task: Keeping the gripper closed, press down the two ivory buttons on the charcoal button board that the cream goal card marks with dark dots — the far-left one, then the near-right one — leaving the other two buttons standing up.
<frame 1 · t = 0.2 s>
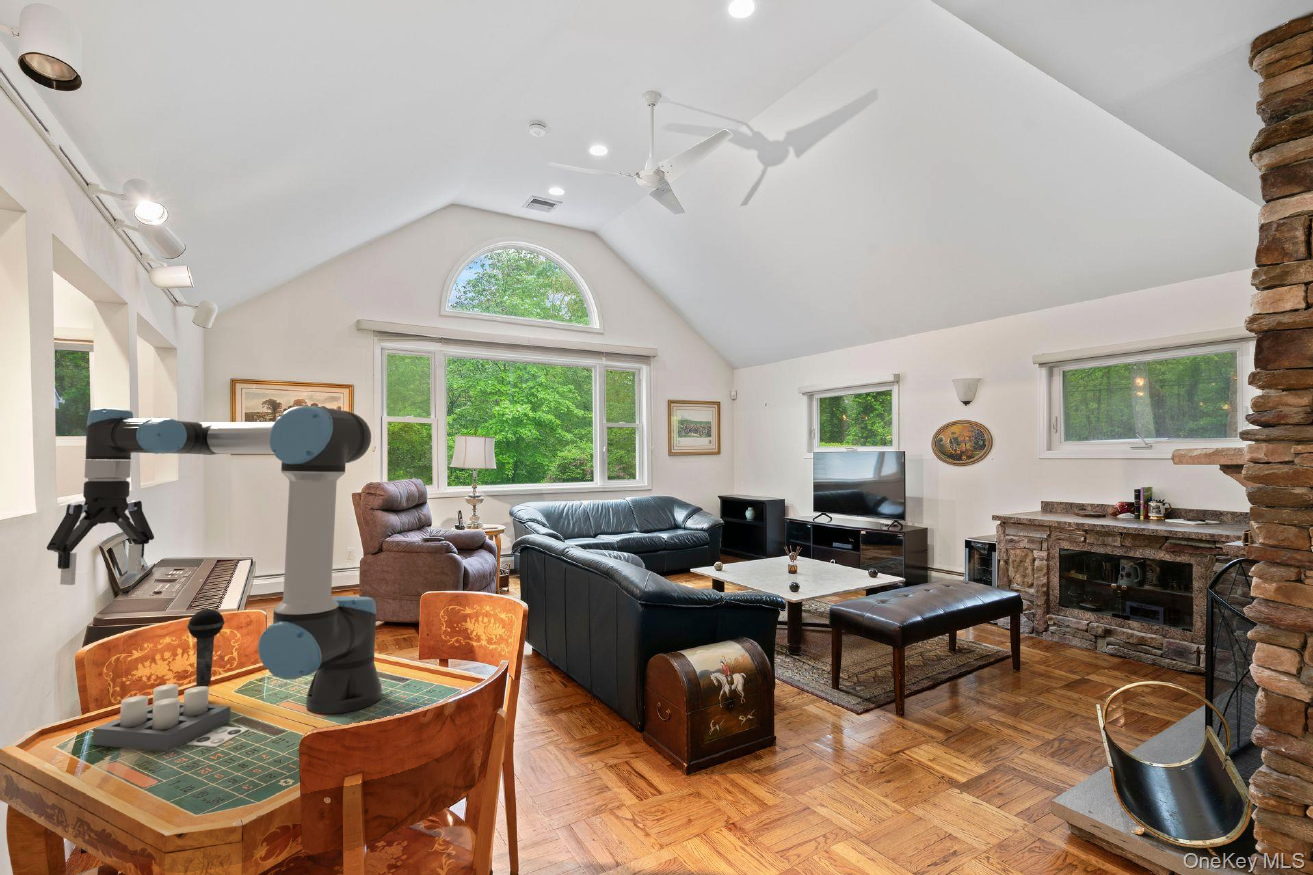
hand: (102, 578, 135), 28 cm above the table, fingers open, 13 cm apart
microphone: (202, 700, 140), on the table
button far left: (134, 711, 121), point 5 cm above the table, slide at 0.0 cm
button near right: (196, 701, 126), point 5 cm above the table, slide at 0.0 cm
button board: (164, 732, 123), on the table
button near left: (166, 713, 120), point 5 cm above the table, slide at 0.0 cm
button far right: (165, 698, 127), point 5 cm above the table, slide at 0.0 cm
goal card: (219, 736, 122), on the table
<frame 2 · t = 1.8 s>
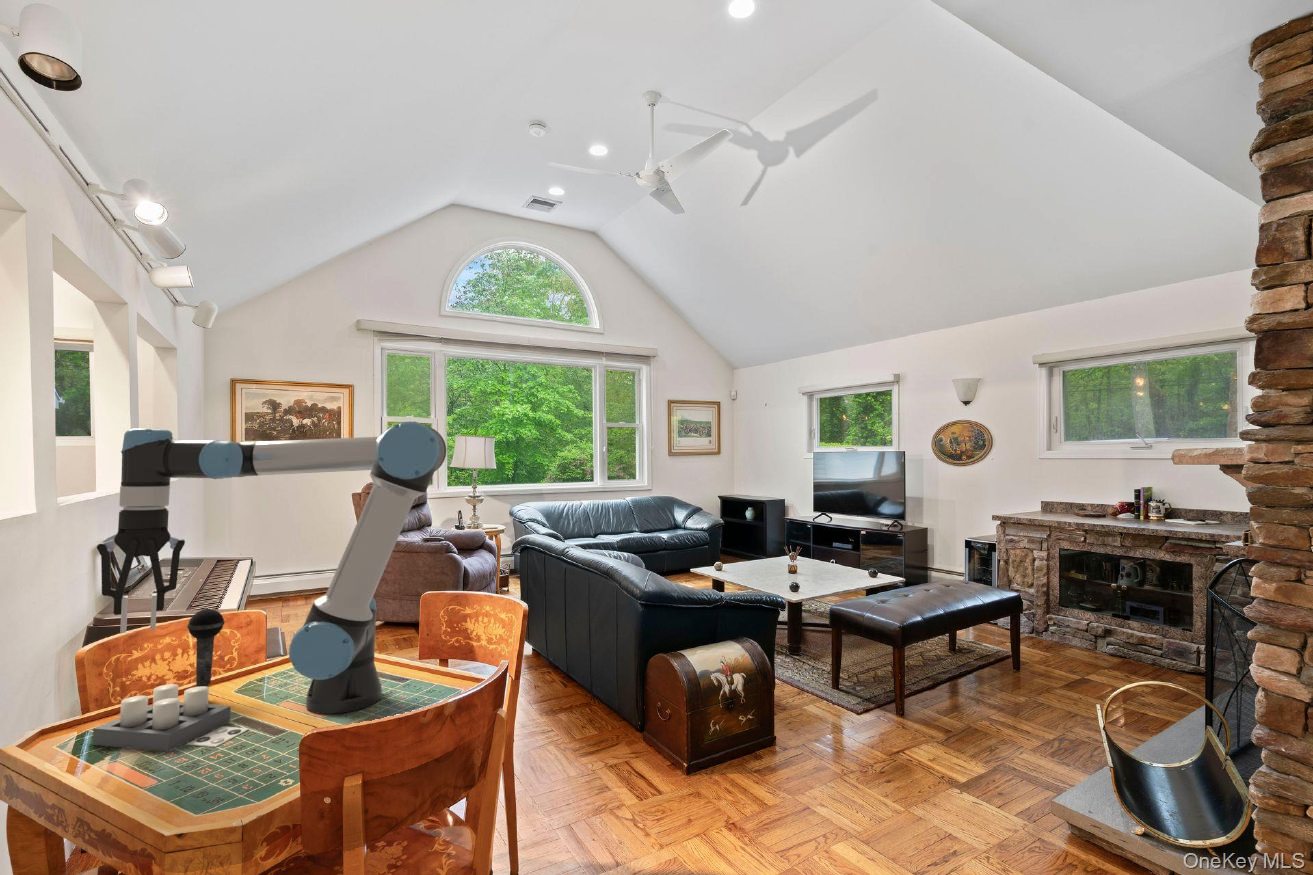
hand: (138, 629, 122), 21 cm above the table, fingers open, 4 cm apart
nothing on the table moved.
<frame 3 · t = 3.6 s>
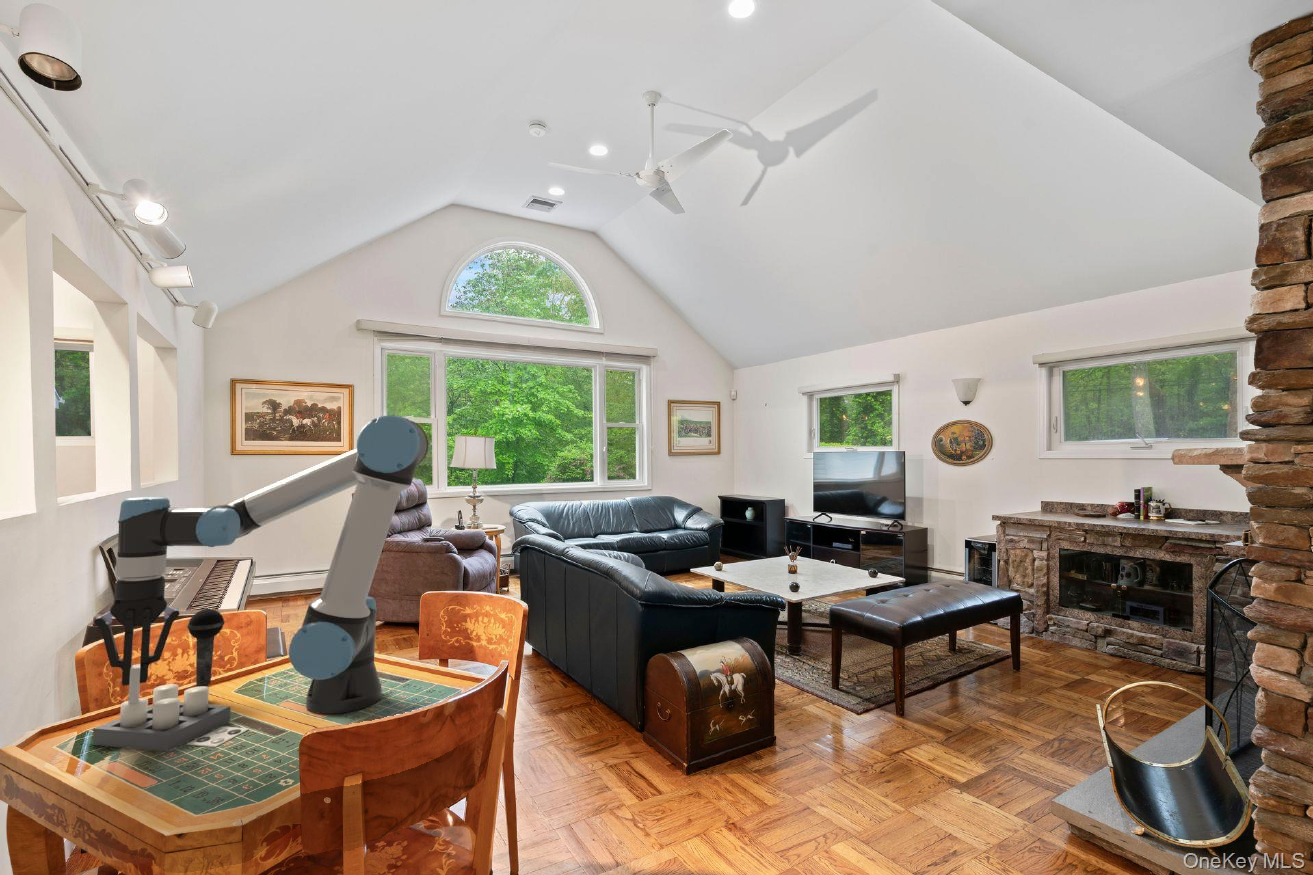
hand: (133, 700, 121), 7 cm above the table, fingers closed
button far left: (134, 713, 121), point 5 cm above the table, slide at 0.5 cm, touching gripper
everything else where it was.
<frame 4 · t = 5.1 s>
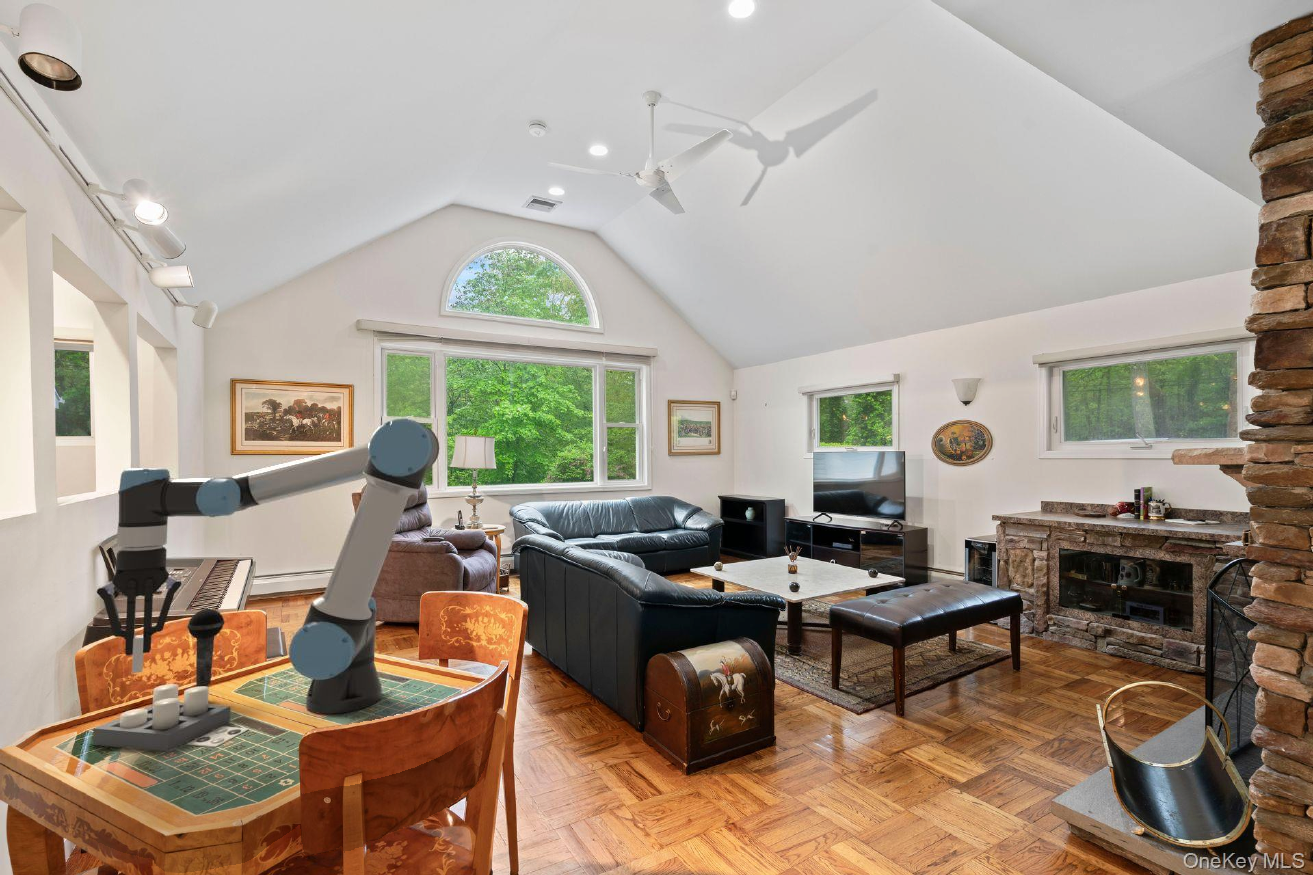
hand: (137, 670, 121), 13 cm above the table, fingers closed
button far left: (133, 724, 121), point 3 cm above the table, slide at 2.5 cm
everything else where it was.
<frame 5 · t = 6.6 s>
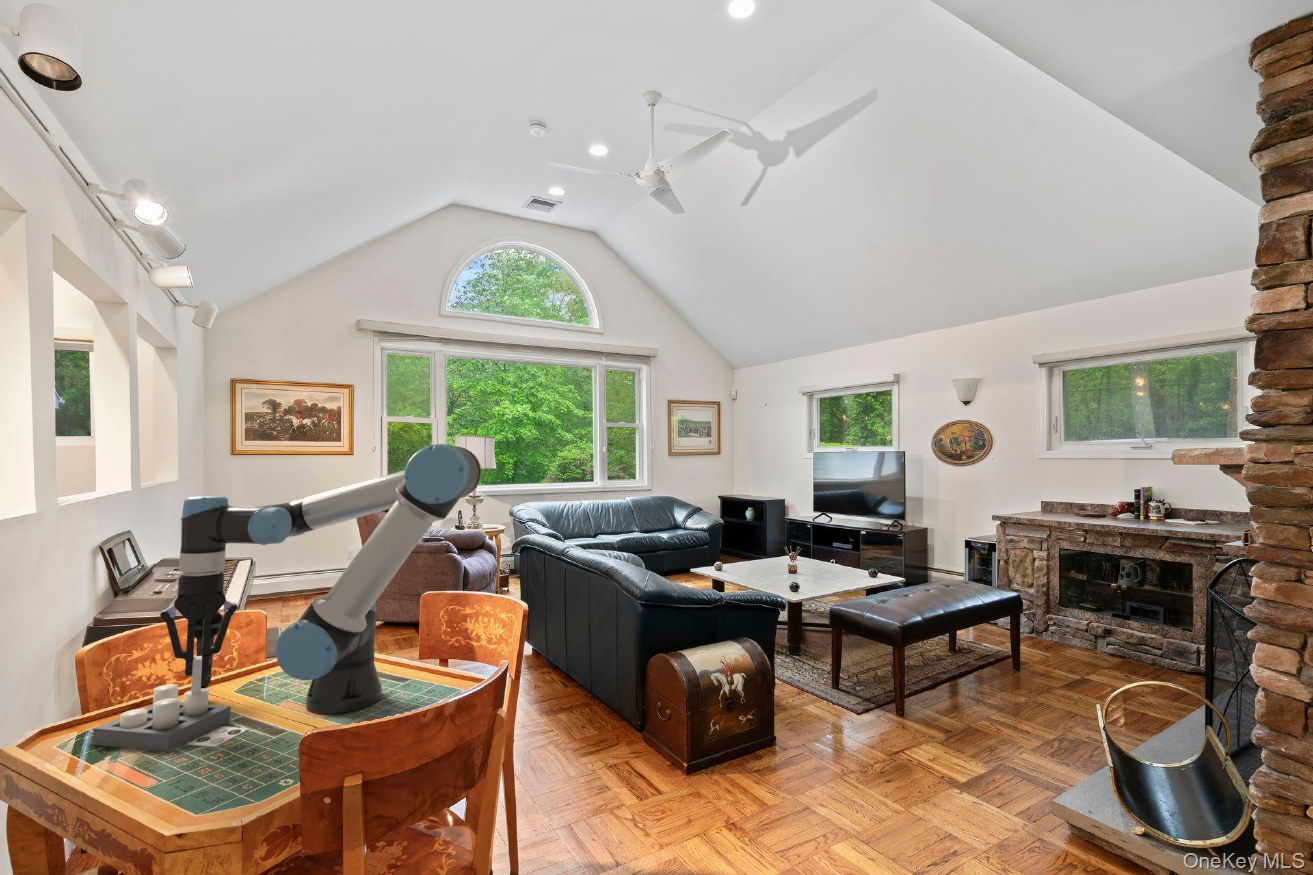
hand: (195, 690, 126), 7 cm above the table, fingers closed
button near right: (196, 703, 126), point 5 cm above the table, slide at 0.4 cm, touching gripper
everything else where it was.
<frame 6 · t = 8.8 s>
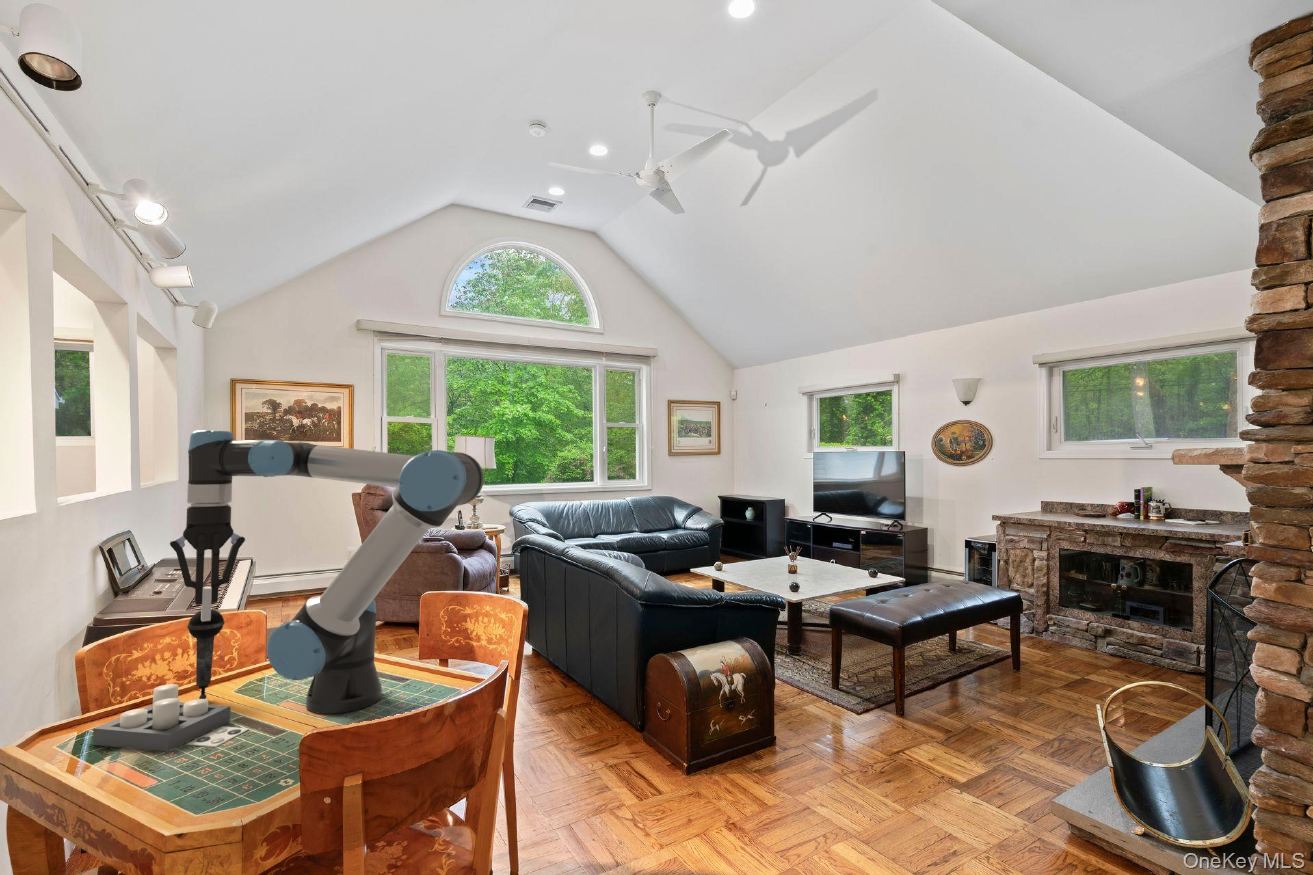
hand: (205, 619, 129), 21 cm above the table, fingers closed
button near right: (195, 713, 126), point 3 cm above the table, slide at 2.5 cm
everything else where it was.
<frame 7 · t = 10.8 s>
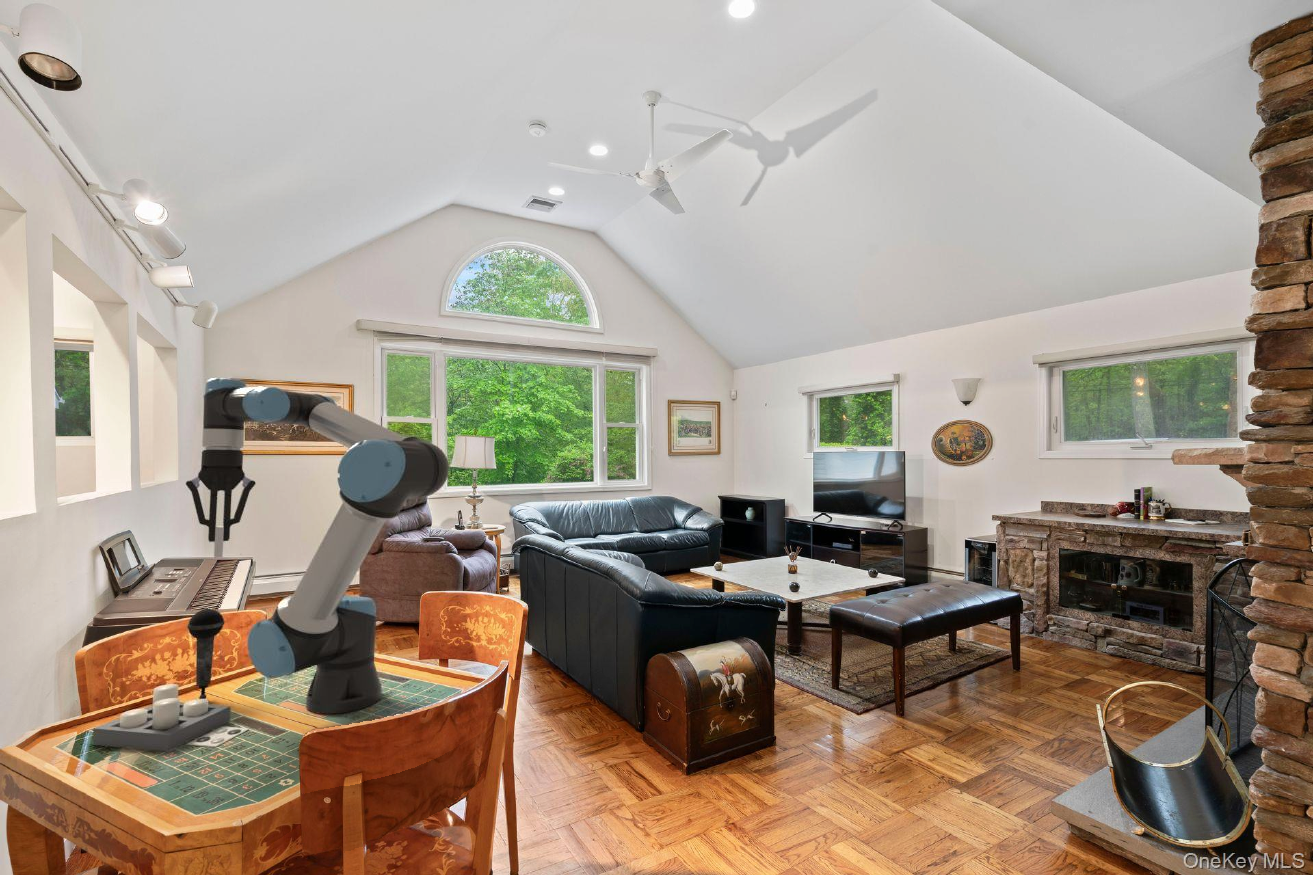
hand: (218, 556, 138), 32 cm above the table, fingers closed
nothing on the table moved.
at the end: button far left slide at 2.5 cm; button near right slide at 2.5 cm; button near left slide at 0.0 cm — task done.
